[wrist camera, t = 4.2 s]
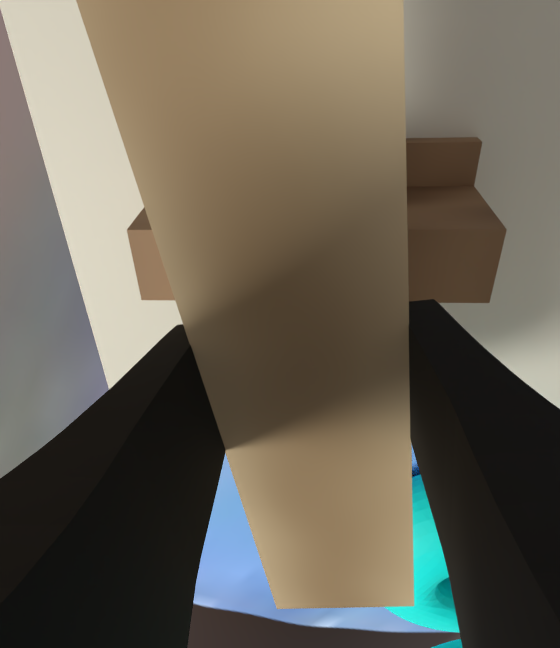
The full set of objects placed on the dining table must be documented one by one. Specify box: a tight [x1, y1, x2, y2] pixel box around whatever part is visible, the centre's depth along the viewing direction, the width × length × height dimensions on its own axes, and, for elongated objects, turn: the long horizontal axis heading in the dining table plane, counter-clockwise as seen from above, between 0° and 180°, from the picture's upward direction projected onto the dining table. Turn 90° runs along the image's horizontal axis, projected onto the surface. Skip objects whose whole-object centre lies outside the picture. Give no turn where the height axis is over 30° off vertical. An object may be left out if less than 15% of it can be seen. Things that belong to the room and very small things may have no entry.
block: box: [127, 137, 507, 303], centre depth 14 cm, size 9×4×4 cm, turn 92°
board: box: [0, 0, 560, 409], centre depth 16 cm, size 18×14×1 cm
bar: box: [76, 0, 414, 609], centre depth 10 cm, size 4×16×4 cm, turn 9°
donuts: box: [385, 474, 462, 648], centre depth 20 cm, size 10×10×10 cm
